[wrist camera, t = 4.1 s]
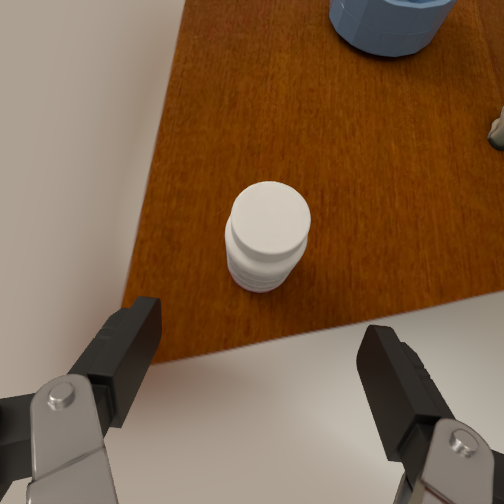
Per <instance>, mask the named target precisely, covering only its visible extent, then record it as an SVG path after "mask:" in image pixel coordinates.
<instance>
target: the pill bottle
mask: <svg viewBox="0 0 504 504" xmlns="http://www.w3.org/2000/svg"><path fill="white" fill-rule="evenodd" d="M310 222H311V217H310V211H309V208H308V205H307V203H306V202H305V200H304V198H303V197H302V196H301V195H300V194H299V193H298V192H297V191H296V190H294V189H293V188H291V187H289V186H287V185H285V184H282V183H278V182H260V183H257V184H254V185H251V186H250V187H248V188H246V189H245V190H244V191H243V192H241V193H240V195H239V196H238V197H237V199H236V200H235V202H234V204H233V207H232V211H231V215H230V217H229V219H228V221H227V224H226V229H225V242H226V250H227V260H228V269H229V272H230V274H231V276H232V278H233V279H234V281H235V282H236V283H237V284H238V285H239V286H241V287H242V288H244V289H246V290H248V291H251V292H258V293H262V292H268V291H271V290H274V289H275V288H277V287H278V286H280V285H281V284H282V283H283V282H284V281H285V279H286V278H287V276H288V275H289V273H290V272H291V271H292V269H293V268H294V267H295V265H296V264H297V263H298V262H299V260H300V259H301V257H302V255H303V253H304V251H305V248H306V244H307V234H308V232H309V229H310Z"/></svg>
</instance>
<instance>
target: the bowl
mask: <svg viewBox="0 0 504 504" xmlns="http://www.w3.org/2000/svg"><path fill="white" fill-rule="evenodd" d="M456 1H457V0H330V4H329V18H330V20H331V22H332V24H333V26H334V28H335V30H336V32H337V33H338V34H340V35H341V36H342V37H343V38H344V39H345V40H346V41H348V42H349V43H350V44H351V45H353V46H355V47H356V48H358V49H360V50H362V51H364V52H367V53H370V54H374V55H379V56H391V57H398V56H403V55H408V54H414V53H416V52H418V51H419V50H421V49H422V48H424V47H425V46H427V45H428V44H429V43H430V42H431V40H432V39H433V37H434V36H435V34H436V33H437V31H438V29H439V28H440V26H441V25H442V23H443V22H444V20H445V18H446V17H447V15H448V14H449V12H450V11H451V9H452V7H453V6H454V4H455V3H456Z"/></svg>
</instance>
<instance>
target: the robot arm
mask: <svg viewBox="0 0 504 504" xmlns="http://www.w3.org/2000/svg"><path fill="white" fill-rule="evenodd" d="M161 333H162V321H161V301H160V299H159V298H152V297H144V296H139V297H138V298H137V299H136V300H135V302H134V303H133V305H132V306H131V308H130V309H129V308H121V309H120V310H118V311H117V312H115V313H114V314H113V315H111V316H110V317H109V319H108V320H107V321H106V322H105V324H104V325H103V326H102V329H100V330H99V332H98V333H97V335H96V337H95V338H94V339H93V340H92V341H91V343H90V344H89V345H88V347H87V348H86V349H85V351H84V352H83V353H82V355H81V356H80V357H79V359H78V360H77V362H76V363H75V364H74V365H73V367H72V368H71V370H70V371H69V372H68V373H67V374H66V375H63V376H60V377H57V378H55V379H53V380H51V381H49V382H48V383H46V384H45V385H44V386H42V387H41V388H40V389H39V390H38V391H37V392H36V393H33V394H27V395H22V396H15V397H9V398H3V399H0V502H1V500H2V498H3V497H4V495H5V493H6V492H7V490H8V489H9V487H10V485H11V484H12V482H13V481H15V480H19V479H23V478H28V477H32V482H30V483H29V484H28V486H27V493H26V504H118V499H117V495H116V491H115V486H114V481H113V477H112V473H111V468H110V464H109V460H108V456H107V451H106V447H105V444H104V440H103V439H104V437H105V435H106V433H107V431H108V429H109V427H115V428H121V427H122V425H123V423H124V421H125V418H126V416H127V414H128V412H129V409H130V407H131V405H132V403H133V401H134V398H135V396H136V394H137V392H138V390H139V387H140V385H141V383H142V381H143V379H144V376H145V374H146V372H147V370H148V368H149V365H150V363H151V361H152V359H153V356H154V354H155V352H156V350H157V348H158V345H159V342H160V339H161ZM356 361H357V362H356V364H357V370H358V373H359V376H360V379H361V382H362V385H363V388H364V391H365V394H366V397H367V400H368V403H369V406H370V409H371V412H372V415H373V418H374V421H375V424H376V426H377V429H378V432H379V436H380V439H381V441H382V444H383V447H384V450H385V453H386V456H387V459H388V461H394V462H402V464H403V466H404V469H405V472H404V474H403V476H402V478H401V481H400V484H399V487H398V490H397V493H396V496H395V500H394V503H393V504H504V454H502V453H499V452H497V451H494V450H492V449H490V447H489V446H488V444H487V443H486V441H485V440H484V439H483V438H482V437H481V436H480V435H479V434H478V433H477V432H476V431H475V430H473V429H472V428H471V427H469V426H468V425H466V424H464V423H462V422H460V421H458V420H456V419H455V417H454V415H453V414H452V412H451V410H450V409H449V407H448V405H447V404H446V402H445V400H444V399H443V397H442V395H441V393H440V392H439V390H438V388H437V387H436V385H435V383H434V382H433V380H432V379H430V375H429V373H428V372H427V370H426V369H424V365H423V363H422V362H421V360H420V358H419V357H418V355H417V353H415V352H414V351H413V350H412V349H411V348H410V347H409V346H408V345H407V344H406V343H405V342H400V340H399V339H398V337H397V335H396V333H395V332H394V330H393V329H392V328H391V327H387V326H379V325H369V326H368V328H367V330H366V332H365V335H364V338H363V340H362V343H361V345H360V348H359V350H358V354H357V359H356Z"/></svg>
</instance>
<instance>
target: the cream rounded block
mask: <svg viewBox="0 0 504 504" xmlns="http://www.w3.org/2000/svg"><path fill="white" fill-rule="evenodd" d="M488 140H489V142H490V143H491V145H492V146H493V147H494V148H495V149H497V150H504V106H503V108H502V111H501V115H500V118H498V119H496V120H495V121H494V122H493V123H492V129H491V131H490V132H489V134H488Z"/></svg>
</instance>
